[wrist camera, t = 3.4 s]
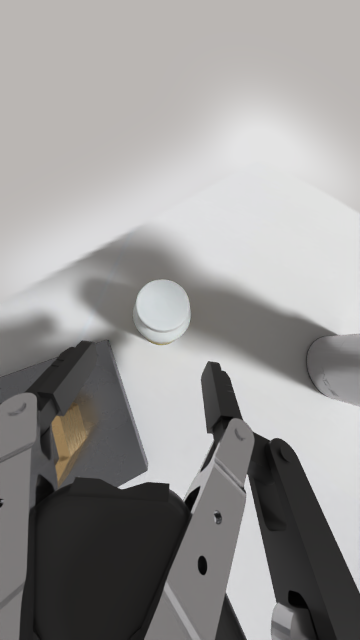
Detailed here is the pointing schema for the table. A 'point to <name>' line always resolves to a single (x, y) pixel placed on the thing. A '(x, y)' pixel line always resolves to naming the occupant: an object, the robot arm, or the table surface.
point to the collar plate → (90, 424)
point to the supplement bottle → (162, 311)
